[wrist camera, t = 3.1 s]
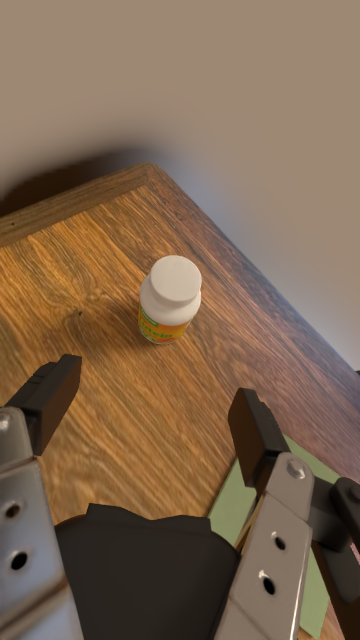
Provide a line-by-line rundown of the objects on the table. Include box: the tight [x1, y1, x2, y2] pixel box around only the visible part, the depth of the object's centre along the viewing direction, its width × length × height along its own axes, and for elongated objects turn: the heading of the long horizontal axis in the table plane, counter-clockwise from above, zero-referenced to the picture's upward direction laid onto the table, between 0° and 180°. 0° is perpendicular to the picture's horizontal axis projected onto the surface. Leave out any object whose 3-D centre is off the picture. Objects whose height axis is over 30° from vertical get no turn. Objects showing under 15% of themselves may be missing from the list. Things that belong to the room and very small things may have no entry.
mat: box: [207, 433, 341, 640], centre depth 22 cm, size 12×12×1 cm
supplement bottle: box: [138, 255, 202, 344], centre depth 22 cm, size 5×5×10 cm
